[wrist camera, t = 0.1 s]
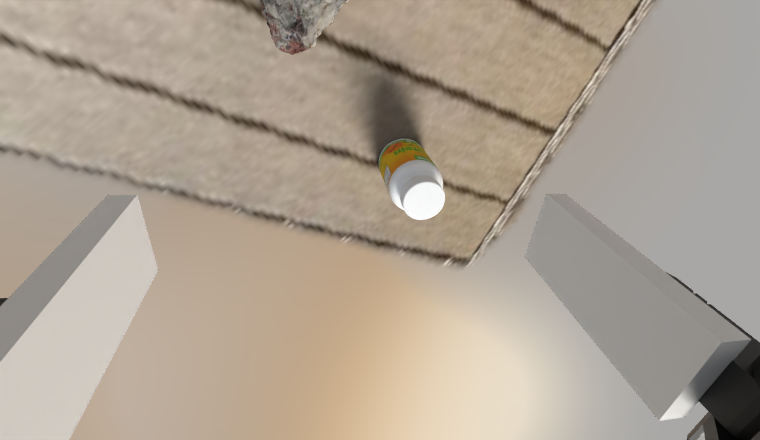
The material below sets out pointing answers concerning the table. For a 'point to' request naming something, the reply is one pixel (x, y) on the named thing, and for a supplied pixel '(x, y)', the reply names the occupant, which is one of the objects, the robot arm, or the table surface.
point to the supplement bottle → (412, 179)
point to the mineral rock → (298, 21)
